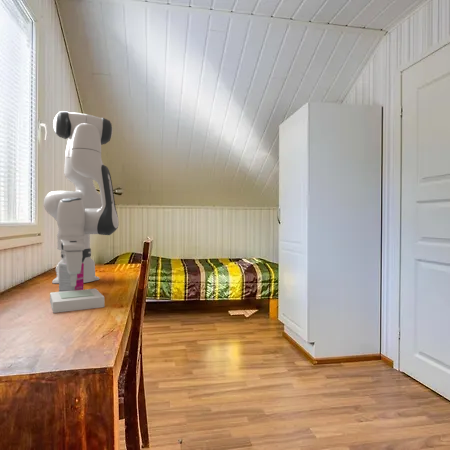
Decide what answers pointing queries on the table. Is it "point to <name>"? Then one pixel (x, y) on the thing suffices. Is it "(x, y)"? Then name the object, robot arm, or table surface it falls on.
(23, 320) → the table surface
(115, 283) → the table surface
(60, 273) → the supplement box
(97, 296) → the dock
